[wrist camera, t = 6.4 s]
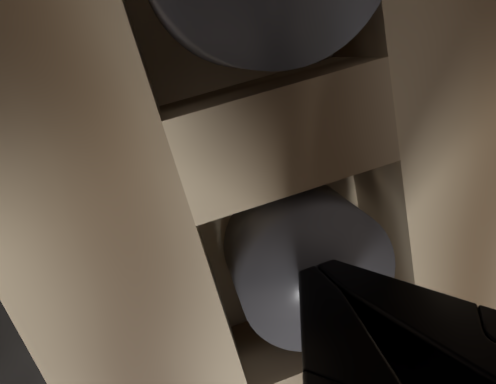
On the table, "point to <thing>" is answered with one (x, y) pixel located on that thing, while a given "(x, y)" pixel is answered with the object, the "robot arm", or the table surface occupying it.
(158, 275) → the button board
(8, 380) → the table surface
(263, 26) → the button middle
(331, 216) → the button
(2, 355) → the table surface
